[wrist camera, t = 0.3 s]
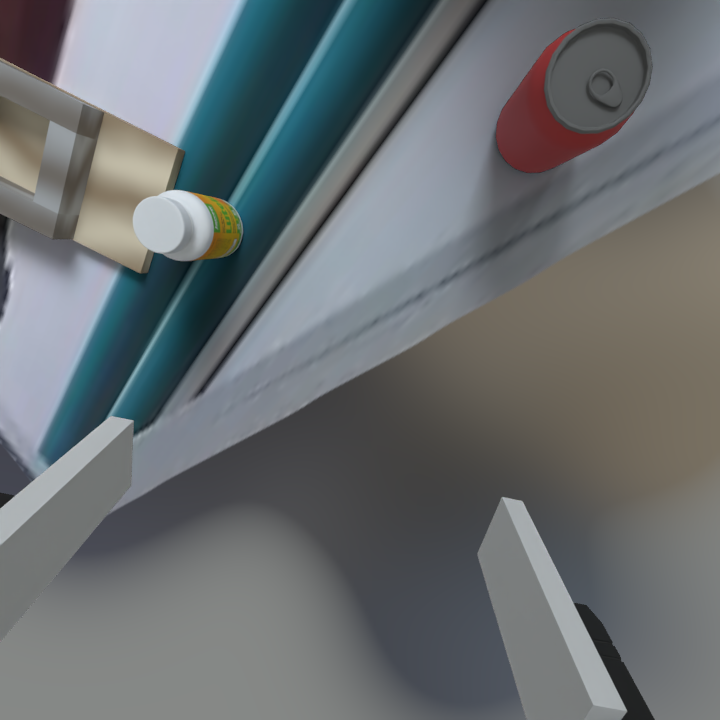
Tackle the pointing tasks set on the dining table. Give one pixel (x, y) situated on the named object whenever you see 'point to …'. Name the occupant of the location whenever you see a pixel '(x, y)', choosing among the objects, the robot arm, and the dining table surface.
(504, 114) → the beer can
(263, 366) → the dining table surface
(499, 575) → the robot arm
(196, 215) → the supplement bottle
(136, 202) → the socket board
